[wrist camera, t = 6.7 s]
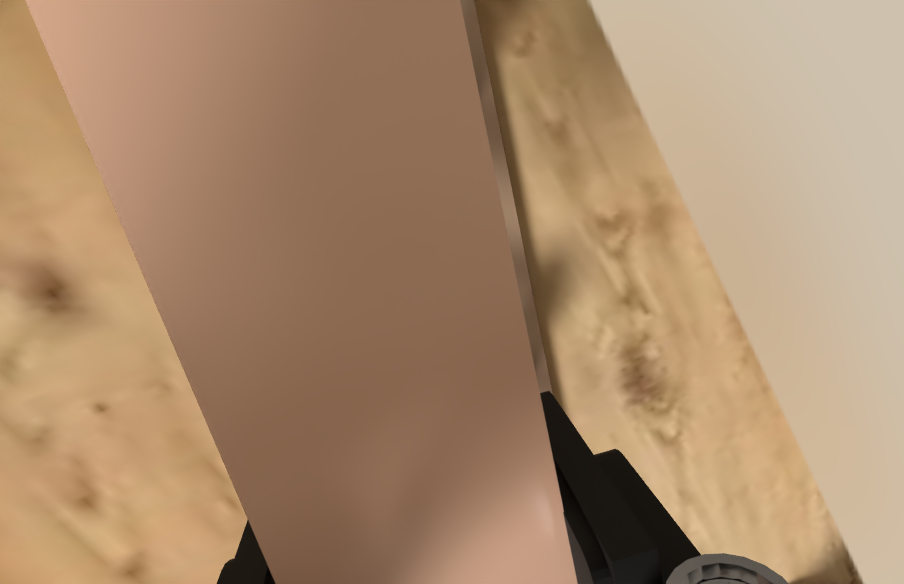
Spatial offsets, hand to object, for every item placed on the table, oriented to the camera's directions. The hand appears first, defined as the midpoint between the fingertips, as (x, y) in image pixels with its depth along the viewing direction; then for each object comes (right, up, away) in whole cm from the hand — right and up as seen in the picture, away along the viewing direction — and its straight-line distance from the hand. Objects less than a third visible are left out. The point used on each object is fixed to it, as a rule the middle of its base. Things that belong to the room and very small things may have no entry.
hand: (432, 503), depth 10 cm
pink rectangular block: (0, +1, +2) cm, 2 cm away
